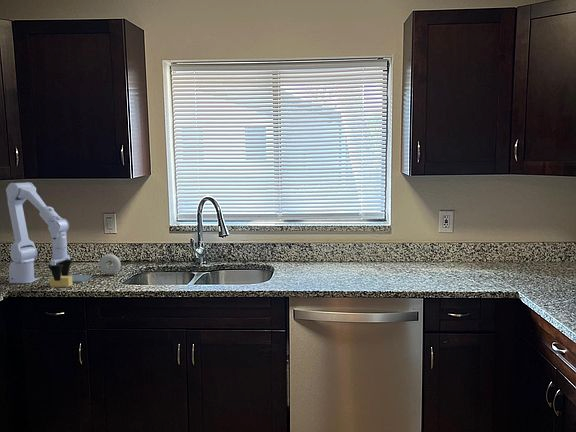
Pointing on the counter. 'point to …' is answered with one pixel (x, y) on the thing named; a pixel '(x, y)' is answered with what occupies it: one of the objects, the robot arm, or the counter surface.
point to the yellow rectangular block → (61, 282)
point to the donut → (114, 260)
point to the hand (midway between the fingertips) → (61, 278)
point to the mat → (80, 278)
